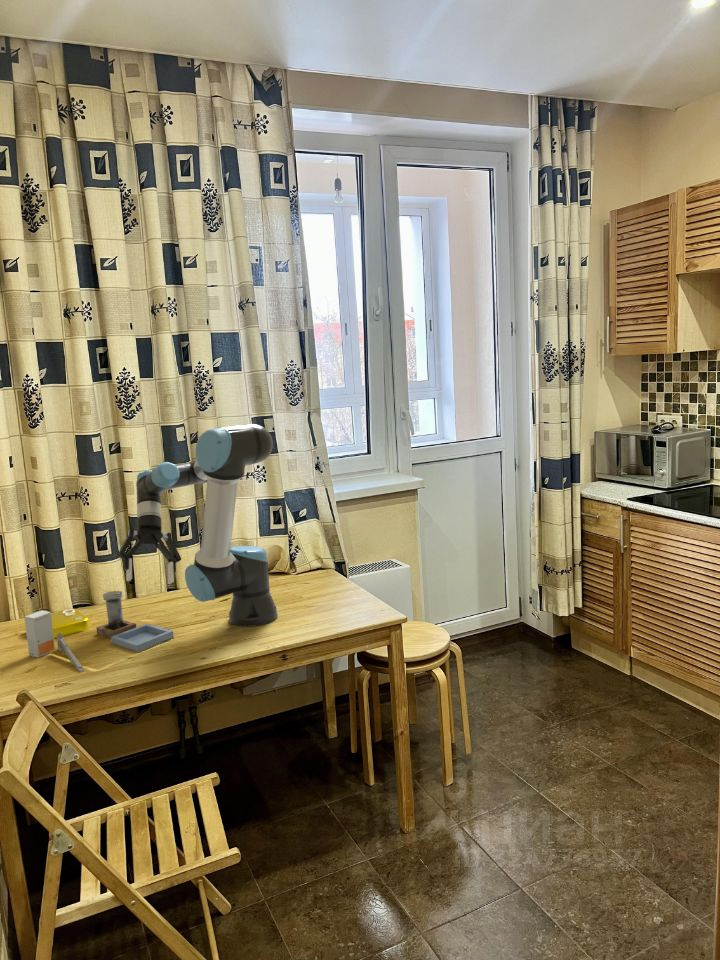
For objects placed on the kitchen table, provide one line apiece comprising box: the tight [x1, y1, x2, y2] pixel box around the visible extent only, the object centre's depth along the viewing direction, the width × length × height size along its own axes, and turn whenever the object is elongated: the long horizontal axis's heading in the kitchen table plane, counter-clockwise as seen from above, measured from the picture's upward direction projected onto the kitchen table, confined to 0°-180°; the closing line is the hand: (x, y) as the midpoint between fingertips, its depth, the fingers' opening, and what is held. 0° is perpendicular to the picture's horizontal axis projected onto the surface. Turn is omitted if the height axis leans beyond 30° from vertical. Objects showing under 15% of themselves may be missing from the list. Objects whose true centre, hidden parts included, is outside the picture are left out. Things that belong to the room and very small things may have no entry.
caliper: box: [56, 632, 84, 673], centre depth 209 cm, size 20×1×6 cm, turn 38°
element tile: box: [51, 608, 90, 639], centre depth 234 cm, size 15×15×5 cm
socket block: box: [96, 619, 137, 639], centre depth 229 cm, size 8×8×3 cm
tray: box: [110, 623, 175, 654], centre depth 221 cm, size 13×13×2 cm
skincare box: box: [24, 610, 56, 659], centre depth 215 cm, size 6×4×12 cm
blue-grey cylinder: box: [102, 590, 124, 630], centre depth 228 cm, size 6×6×12 cm
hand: (150, 581), depth 231 cm, fingers open, 13 cm apart
